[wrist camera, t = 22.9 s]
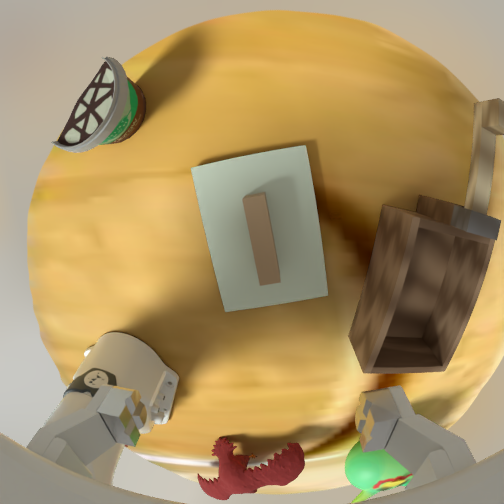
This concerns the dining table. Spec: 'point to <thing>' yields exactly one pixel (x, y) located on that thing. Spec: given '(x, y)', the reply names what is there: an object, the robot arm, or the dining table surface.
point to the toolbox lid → (262, 228)
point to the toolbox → (421, 286)
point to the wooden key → (483, 153)
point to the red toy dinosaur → (251, 471)
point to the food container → (104, 111)
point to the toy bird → (374, 472)
